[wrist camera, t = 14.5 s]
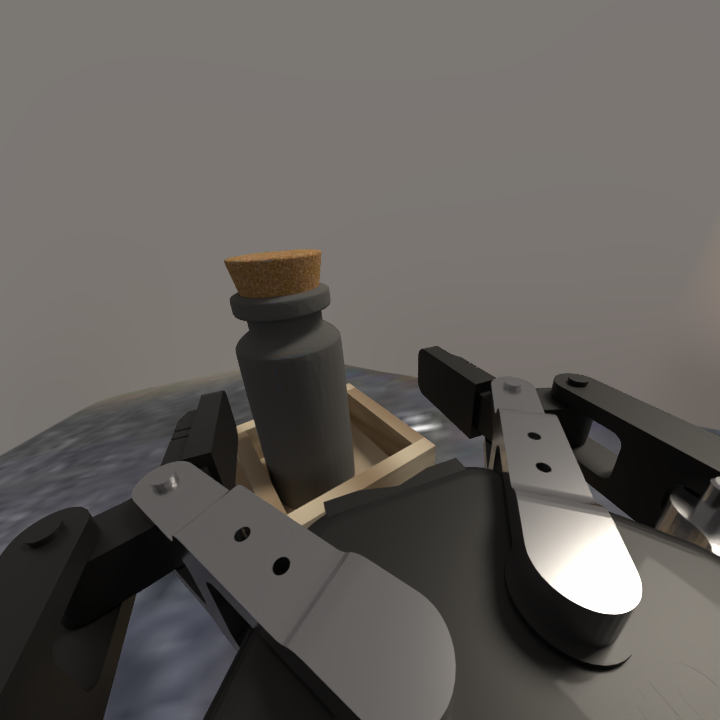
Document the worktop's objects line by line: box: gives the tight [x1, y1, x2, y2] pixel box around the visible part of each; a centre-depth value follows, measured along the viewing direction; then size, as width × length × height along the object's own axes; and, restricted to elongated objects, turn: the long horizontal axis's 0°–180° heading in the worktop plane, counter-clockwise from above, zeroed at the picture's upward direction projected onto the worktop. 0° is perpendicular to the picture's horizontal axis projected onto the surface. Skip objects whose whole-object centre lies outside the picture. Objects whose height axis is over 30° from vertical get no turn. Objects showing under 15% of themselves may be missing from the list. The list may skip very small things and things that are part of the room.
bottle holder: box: [235, 384, 435, 529], centre depth 21 cm, size 12×12×4 cm
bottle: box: [224, 249, 355, 509], centre depth 18 cm, size 6×6×15 cm
